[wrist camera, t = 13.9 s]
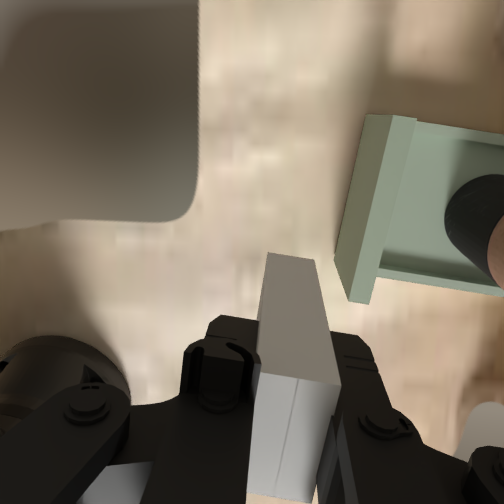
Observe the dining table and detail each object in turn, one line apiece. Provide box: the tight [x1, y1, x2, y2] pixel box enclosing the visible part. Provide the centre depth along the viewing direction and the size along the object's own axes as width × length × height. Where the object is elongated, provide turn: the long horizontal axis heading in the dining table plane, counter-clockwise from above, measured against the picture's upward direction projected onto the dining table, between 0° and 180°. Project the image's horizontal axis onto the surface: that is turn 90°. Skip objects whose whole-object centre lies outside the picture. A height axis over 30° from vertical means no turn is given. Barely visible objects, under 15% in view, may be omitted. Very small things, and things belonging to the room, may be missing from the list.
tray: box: [334, 114, 504, 305], centre depth 33 cm, size 18×13×9 cm
